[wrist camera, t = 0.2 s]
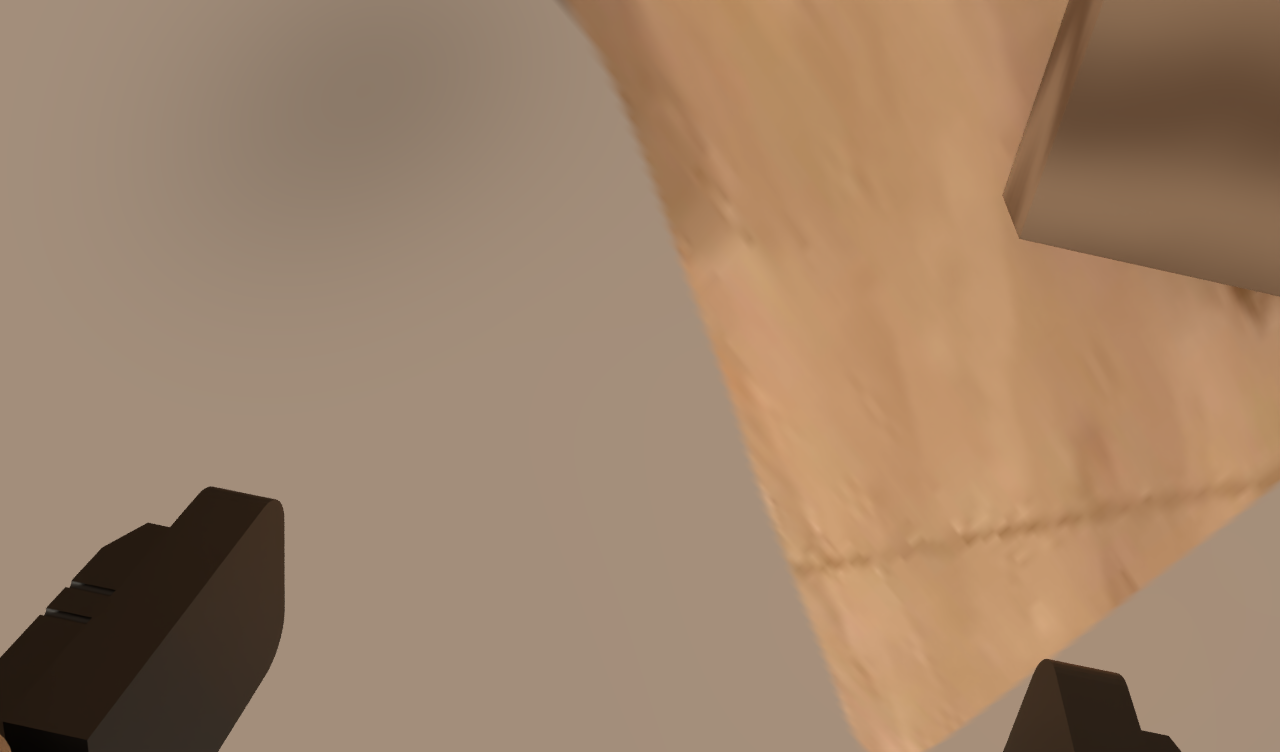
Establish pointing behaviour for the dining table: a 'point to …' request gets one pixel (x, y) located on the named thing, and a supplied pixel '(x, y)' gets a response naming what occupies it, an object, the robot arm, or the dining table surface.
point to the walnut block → (1159, 139)
